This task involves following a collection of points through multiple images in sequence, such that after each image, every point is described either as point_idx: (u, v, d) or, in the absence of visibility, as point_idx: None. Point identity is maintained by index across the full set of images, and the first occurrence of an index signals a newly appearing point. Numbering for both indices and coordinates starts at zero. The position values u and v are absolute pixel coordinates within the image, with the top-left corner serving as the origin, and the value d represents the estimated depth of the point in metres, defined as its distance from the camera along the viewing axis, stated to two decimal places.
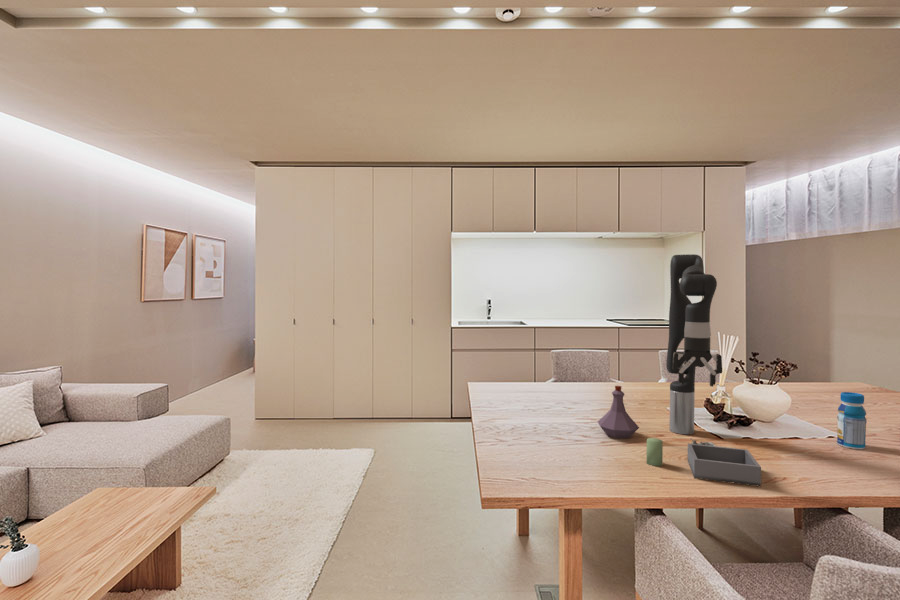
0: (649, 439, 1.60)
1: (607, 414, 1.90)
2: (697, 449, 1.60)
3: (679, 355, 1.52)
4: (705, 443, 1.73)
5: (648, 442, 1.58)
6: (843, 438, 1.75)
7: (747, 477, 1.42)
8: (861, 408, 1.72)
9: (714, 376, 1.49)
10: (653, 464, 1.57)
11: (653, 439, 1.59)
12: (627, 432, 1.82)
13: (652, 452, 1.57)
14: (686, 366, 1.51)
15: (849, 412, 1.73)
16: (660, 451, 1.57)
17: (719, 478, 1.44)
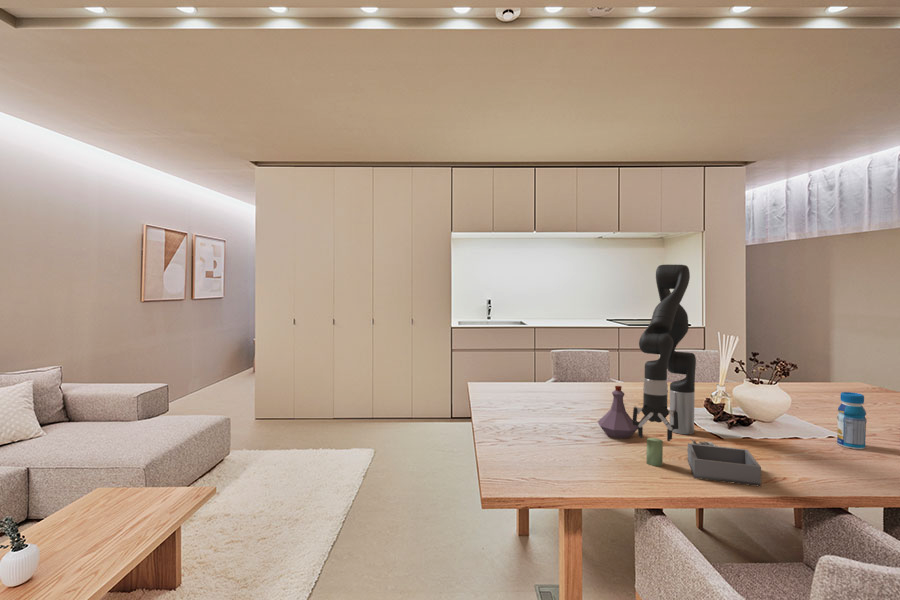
0: (649, 439, 1.60)
1: (607, 414, 1.90)
2: (697, 449, 1.60)
3: (638, 410, 1.60)
4: (704, 443, 1.73)
5: (648, 442, 1.58)
6: (843, 438, 1.75)
7: (747, 477, 1.42)
8: (861, 408, 1.72)
9: (671, 431, 1.56)
10: (653, 464, 1.57)
11: (653, 439, 1.59)
12: (627, 432, 1.82)
13: (652, 452, 1.57)
14: (644, 421, 1.58)
15: (849, 412, 1.73)
16: (660, 451, 1.57)
17: (719, 478, 1.44)
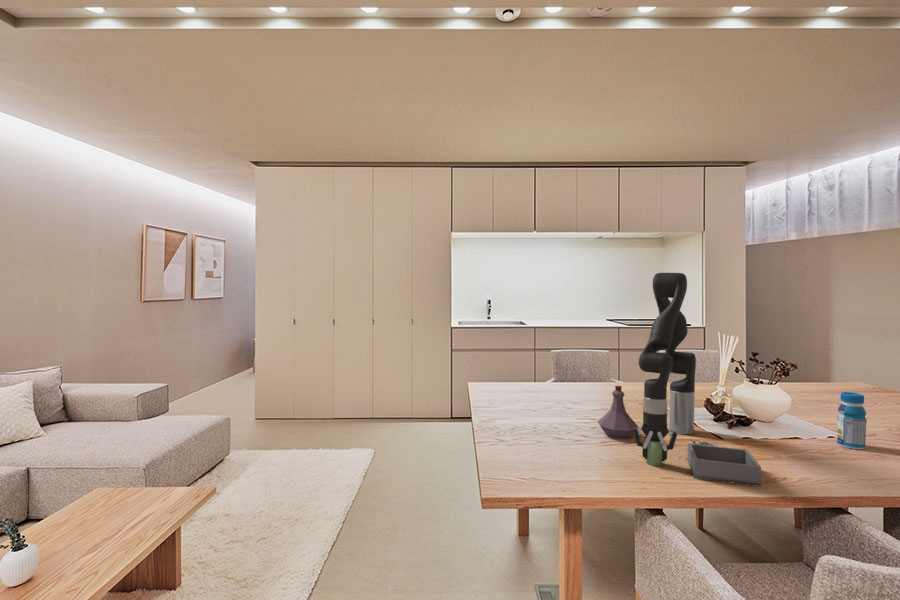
0: None
1: (607, 414, 1.90)
2: (697, 449, 1.60)
3: (638, 430, 1.60)
4: (703, 443, 1.74)
5: None
6: (843, 438, 1.75)
7: (747, 477, 1.42)
8: (861, 408, 1.72)
9: (666, 452, 1.57)
10: (653, 464, 1.57)
11: None
12: (627, 432, 1.82)
13: (652, 452, 1.57)
14: (647, 441, 1.58)
15: (849, 412, 1.73)
16: (660, 451, 1.57)
17: (719, 478, 1.44)
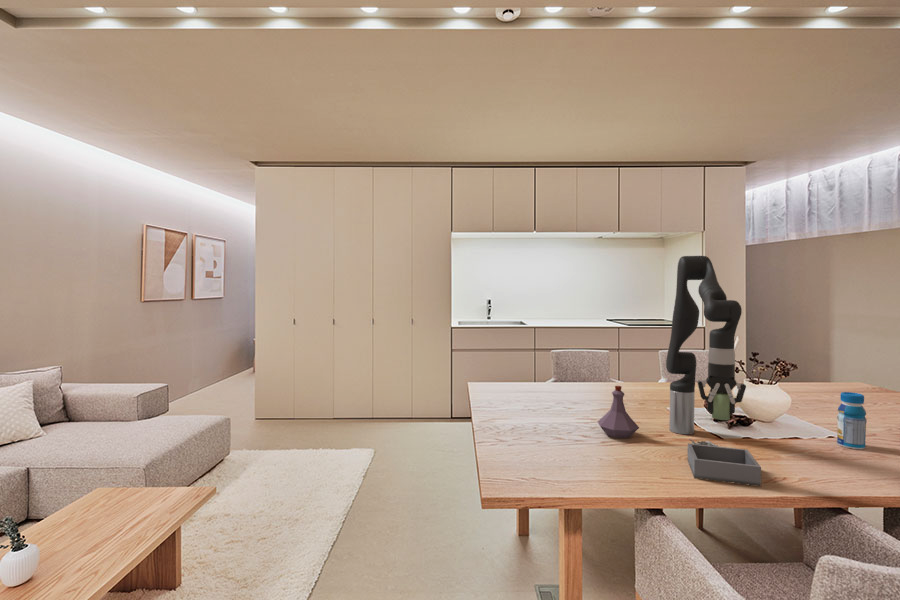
0: None
1: (607, 414, 1.90)
2: (697, 449, 1.60)
3: (703, 383, 1.52)
4: (702, 442, 1.74)
5: None
6: (843, 438, 1.75)
7: (747, 477, 1.42)
8: (861, 408, 1.72)
9: (733, 405, 1.49)
10: (720, 418, 1.49)
11: (719, 393, 1.51)
12: (627, 432, 1.82)
13: (719, 405, 1.49)
14: (713, 394, 1.50)
15: (849, 412, 1.73)
16: (728, 404, 1.48)
17: (719, 478, 1.44)
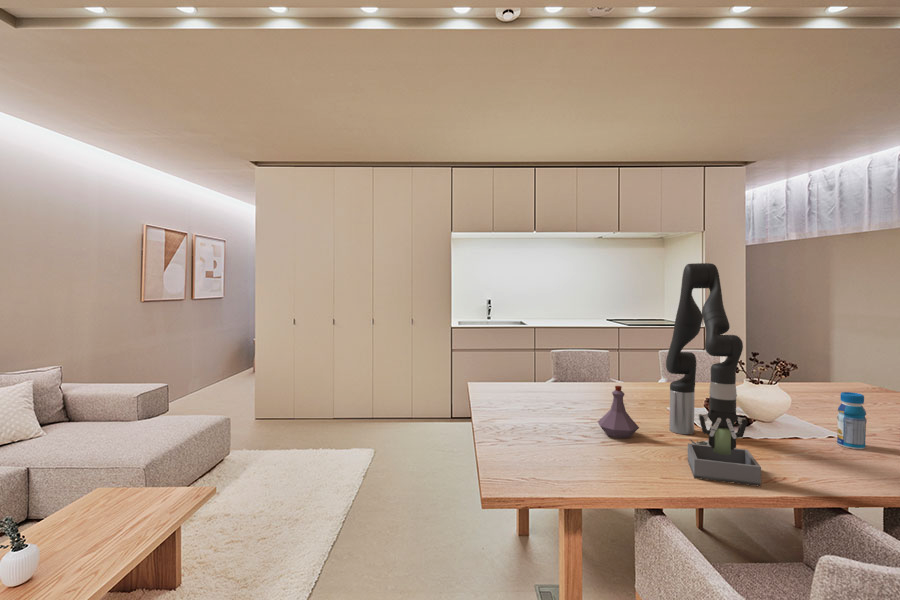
0: None
1: (607, 414, 1.90)
2: (697, 449, 1.60)
3: (705, 417, 1.52)
4: (701, 442, 1.74)
5: None
6: (843, 438, 1.75)
7: (747, 477, 1.42)
8: (861, 408, 1.72)
9: (735, 439, 1.49)
10: (722, 452, 1.49)
11: (721, 427, 1.51)
12: (627, 432, 1.82)
13: (720, 440, 1.49)
14: (715, 428, 1.50)
15: (849, 412, 1.73)
16: (729, 439, 1.48)
17: (719, 478, 1.44)
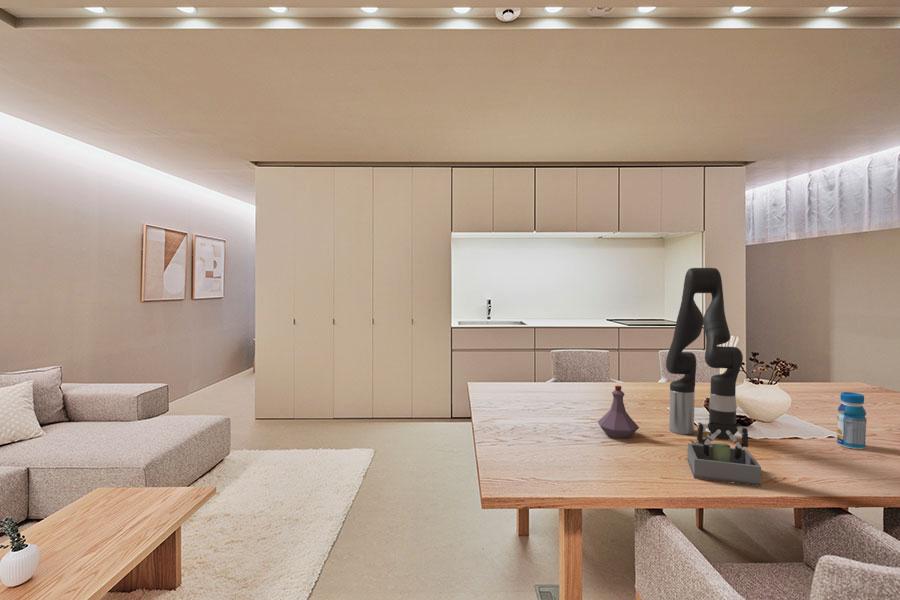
0: (715, 444, 1.52)
1: (607, 414, 1.90)
2: (697, 449, 1.60)
3: (704, 426, 1.52)
4: None
5: (715, 447, 1.50)
6: (843, 438, 1.75)
7: (747, 477, 1.42)
8: (861, 408, 1.72)
9: (740, 449, 1.49)
10: None
11: (720, 444, 1.52)
12: (627, 432, 1.82)
13: (719, 458, 1.49)
14: (711, 438, 1.50)
15: (849, 412, 1.73)
16: (728, 456, 1.49)
17: (719, 478, 1.44)
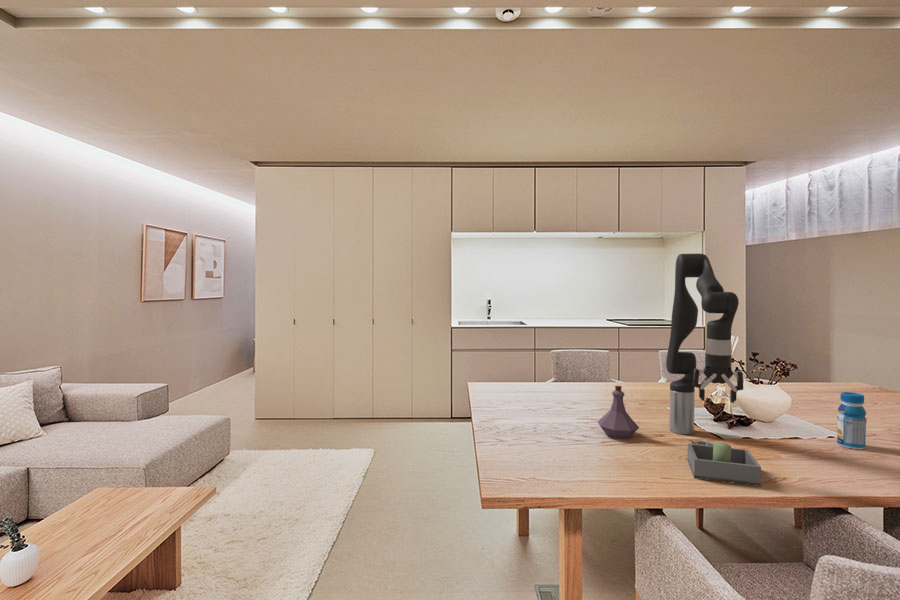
0: (716, 444, 1.52)
1: (607, 414, 1.90)
2: (697, 449, 1.60)
3: (700, 371, 1.54)
4: (699, 442, 1.75)
5: (715, 447, 1.50)
6: (843, 438, 1.75)
7: (747, 477, 1.42)
8: (861, 408, 1.72)
9: (735, 393, 1.51)
10: None
11: (721, 444, 1.51)
12: (627, 432, 1.82)
13: (720, 458, 1.49)
14: (707, 382, 1.53)
15: (849, 412, 1.73)
16: (728, 457, 1.49)
17: (719, 478, 1.44)
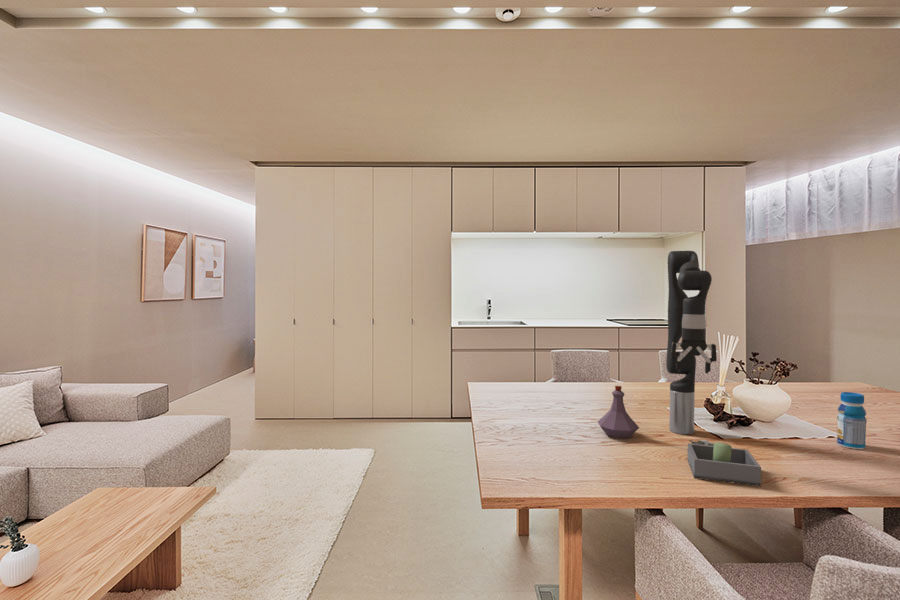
0: (716, 443, 1.52)
1: (607, 414, 1.90)
2: (697, 449, 1.60)
3: (677, 345, 1.66)
4: (698, 442, 1.75)
5: (715, 446, 1.50)
6: (843, 438, 1.75)
7: (747, 477, 1.42)
8: (861, 408, 1.72)
9: (709, 364, 1.62)
10: None
11: (721, 444, 1.51)
12: (627, 432, 1.82)
13: (719, 457, 1.49)
14: (683, 355, 1.64)
15: (849, 412, 1.73)
16: (728, 457, 1.49)
17: (719, 478, 1.44)
